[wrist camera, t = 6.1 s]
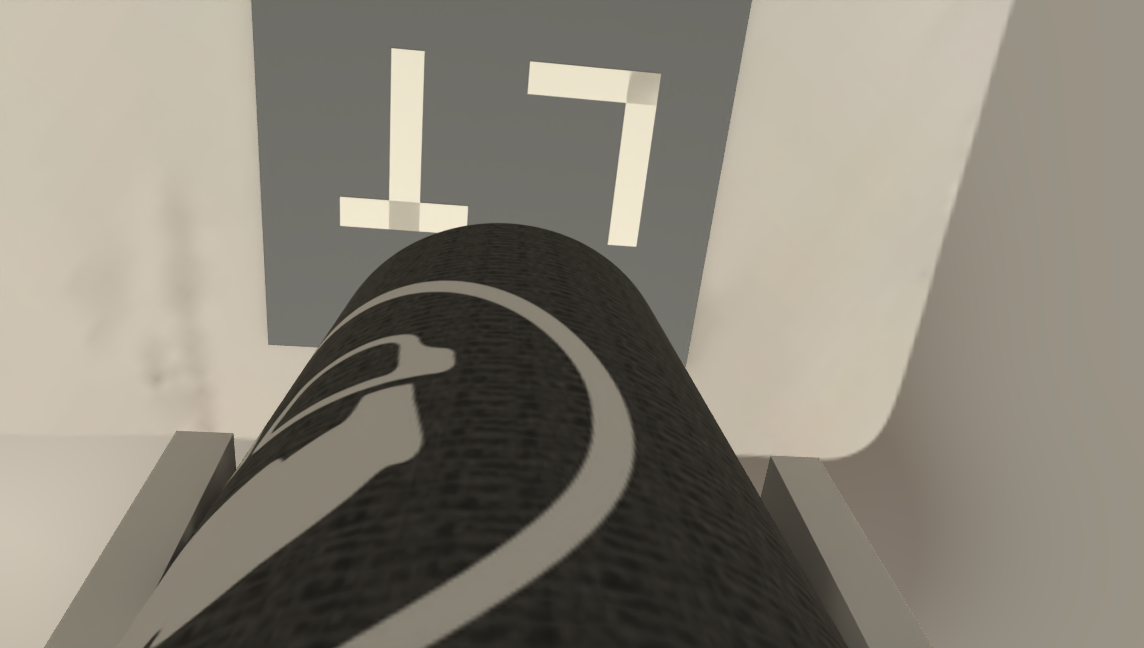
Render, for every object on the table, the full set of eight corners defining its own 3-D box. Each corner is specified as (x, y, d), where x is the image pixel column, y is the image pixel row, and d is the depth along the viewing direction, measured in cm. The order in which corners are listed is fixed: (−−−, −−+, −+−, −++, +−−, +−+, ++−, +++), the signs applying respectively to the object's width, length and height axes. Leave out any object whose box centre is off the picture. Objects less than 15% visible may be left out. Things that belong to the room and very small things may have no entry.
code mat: (246, -137, 29) (244, -138, 29) (763, -76, 31) (765, -76, 31) (270, 341, 36) (268, 344, 36) (684, 363, 39) (685, 367, 38)
